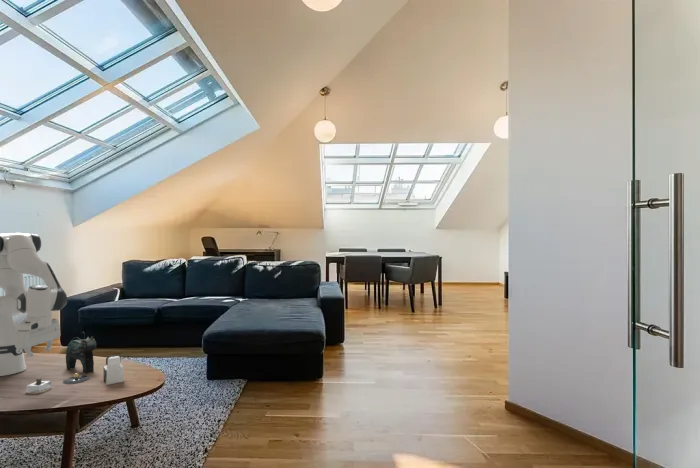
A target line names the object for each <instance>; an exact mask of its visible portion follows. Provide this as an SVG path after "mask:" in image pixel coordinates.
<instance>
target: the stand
mask: <svg viewBox="0 0 700 468" xmlns="http://www.w3.org/2000/svg"><path fill="white" fill-rule="evenodd" d="M41 381H42V378H41V377H39V378H36V381H35V382H36V385H40V384H41ZM50 389H51V388H49V389H47V390H45V391H43V392H41V393H45V392H47V391H49V390H50ZM41 393H40V394H41ZM27 394H29V395H35V394H37V393H27Z"/></svg>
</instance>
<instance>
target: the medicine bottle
mask: <svg viewBox="0 0 700 468" xmlns="http://www.w3.org/2000/svg"><path fill="white" fill-rule="evenodd" d="M103 382H104V385H106V386H109V385H114V384H119V383H123V382H124V366H123V364H122V356H121V355H118V354H114V355H113V354H112V355H109V356H107V357H106V358H105V365H104V366H103Z"/></svg>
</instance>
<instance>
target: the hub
mask: <svg viewBox="0 0 700 468" xmlns="http://www.w3.org/2000/svg"><path fill="white" fill-rule="evenodd" d="M79 374H80V373H79V372H75V373H74V374H73V376H70V377H68V378H65V379H63V381H62V383H63V384H65V385H74V384H79V383H83V382H86V381H88V380H89V379H90V377H89V375H86V374H85V375H83V374H81V375H79Z"/></svg>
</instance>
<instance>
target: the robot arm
mask: <svg viewBox="0 0 700 468" xmlns="http://www.w3.org/2000/svg"><path fill="white" fill-rule="evenodd" d="M41 239H42V238H41V237H40V235H38V234H37V233H31V232H30V233H26V232H25V233H23V232H7V233H6V232H5V233H0V288H1V289H3V291H4V295H0V377H4V376H9V375H14V374H17V373H21V372H24V371H26V370H27V365H26V362H25V361H26V360H25V354H26V358H31V357H33V356H34V352H33V351H32V350H31V349H32V347H35V346H38V345H40V344H44V343H47V344H46V346H44V351H45V352H49V351H52V346H53V344H54V340H57V339H60V337H61V326H60V323H59V322H60V321H59V320H58V319H57V318H52V317H53V316H52V315H53V314H52V312H57V311H58V312H60V311H61V310H62V309H63V308H65V306H67V304H68V295H67V294H66V292H65V290H64V289H63V288H62V286H61V284H60V282H59V280H58V278H57V277H56V274H55V273H54V270H53V269H52V267H51V265H50V264H49V263H48V262H47V261H45V260H43V259H42V258H40V256H39V255H38V252H39V251H41V248H42V240H41ZM25 274H26V275H30V276H34V277H38V278H40V279H41V280H43V282H44V284H35V285H34V284H33V285H30V286H29V287H28V288H26V285H25V283H24V275H25ZM24 314H26V316H25V317H26V318H25V319H24V320H23V321H21V322H20V323H16V322H15V321H14V319H13V317H14V316H20V315H24ZM24 353H25V354H24Z"/></svg>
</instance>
